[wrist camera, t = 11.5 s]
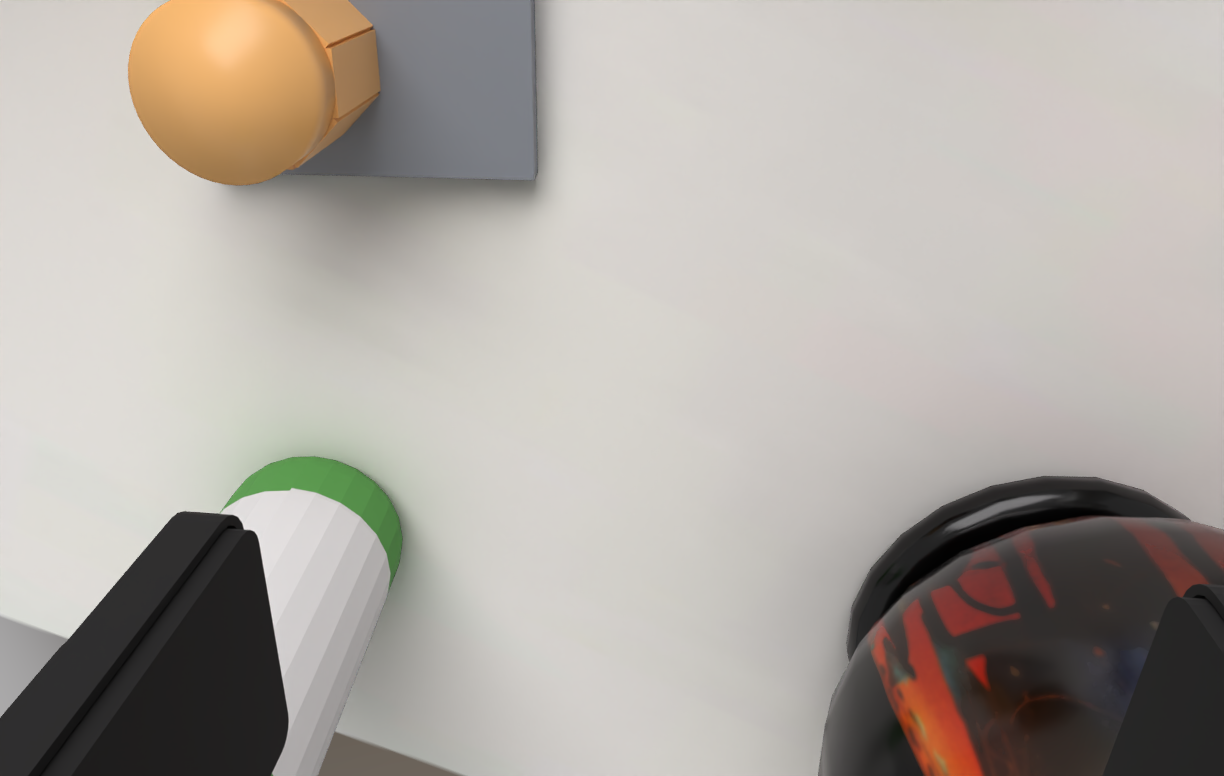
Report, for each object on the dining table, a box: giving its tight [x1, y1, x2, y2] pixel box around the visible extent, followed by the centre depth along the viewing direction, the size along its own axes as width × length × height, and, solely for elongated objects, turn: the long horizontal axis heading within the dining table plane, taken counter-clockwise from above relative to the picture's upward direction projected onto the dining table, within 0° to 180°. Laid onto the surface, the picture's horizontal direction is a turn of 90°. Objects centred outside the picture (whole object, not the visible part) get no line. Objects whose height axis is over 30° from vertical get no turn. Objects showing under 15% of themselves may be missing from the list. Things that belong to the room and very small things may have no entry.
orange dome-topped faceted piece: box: [128, 0, 381, 185], centre depth 30 cm, size 5×5×7 cm
